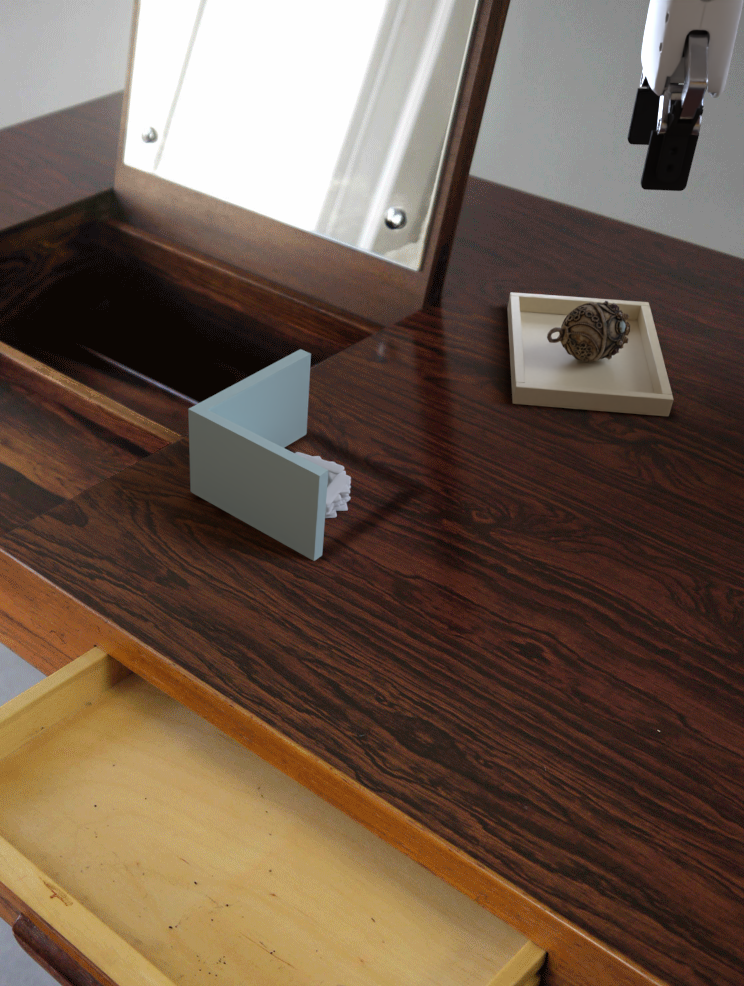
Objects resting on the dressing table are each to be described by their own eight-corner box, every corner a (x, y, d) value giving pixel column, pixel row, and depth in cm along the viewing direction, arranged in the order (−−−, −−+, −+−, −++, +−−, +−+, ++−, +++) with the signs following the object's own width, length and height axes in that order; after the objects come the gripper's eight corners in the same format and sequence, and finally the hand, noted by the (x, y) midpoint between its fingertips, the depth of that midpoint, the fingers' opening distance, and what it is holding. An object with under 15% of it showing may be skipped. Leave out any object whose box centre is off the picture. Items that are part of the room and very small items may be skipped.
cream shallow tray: (506, 312, 107) (510, 291, 105) (643, 323, 106) (648, 301, 104) (511, 409, 94) (515, 386, 93) (667, 422, 93) (673, 399, 92)
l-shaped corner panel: (313, 567, 79) (319, 475, 73) (190, 497, 84) (188, 408, 79) (417, 494, 85) (429, 406, 80) (296, 435, 91) (300, 349, 86)
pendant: (636, 367, 98) (651, 313, 95) (555, 378, 97) (567, 323, 93) (608, 340, 102) (622, 287, 98) (530, 350, 100) (540, 296, 97)
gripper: (800, -74, 69) (723, 210, 80) (750, -123, 81) (689, 130, 93) (672, -76, 70) (614, 206, 81) (642, -124, 82) (595, 126, 94)
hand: (654, 165), depth 87 cm, fingers open, 9 cm apart
